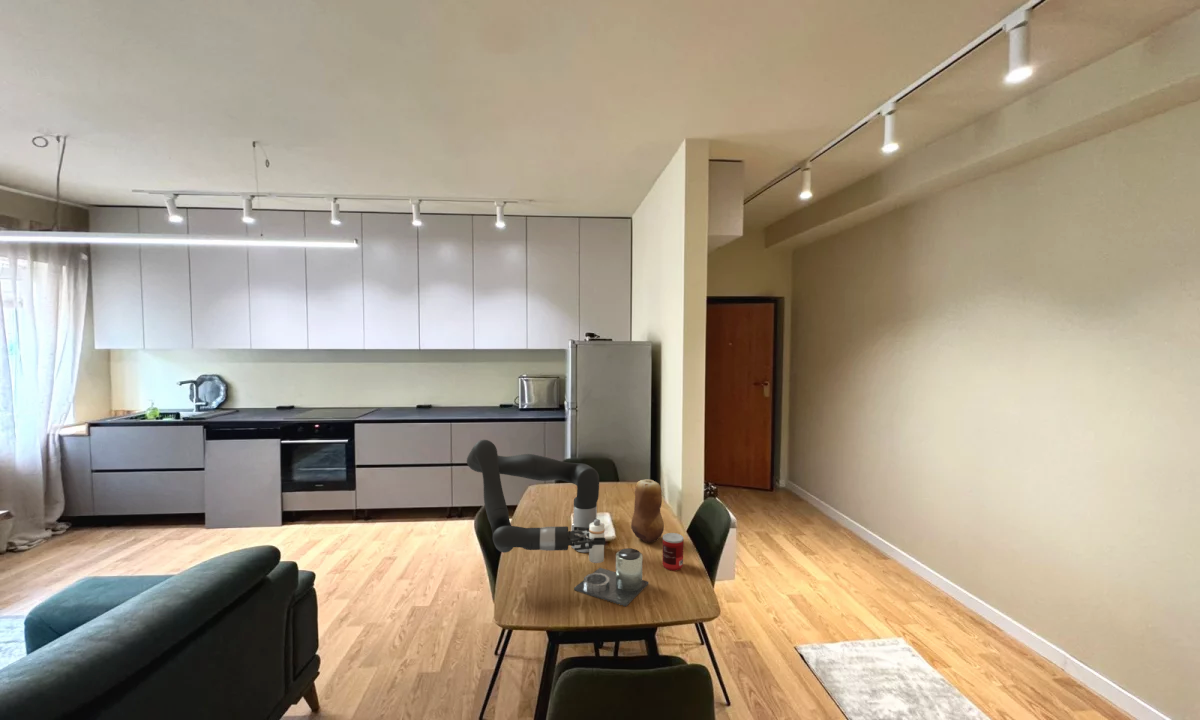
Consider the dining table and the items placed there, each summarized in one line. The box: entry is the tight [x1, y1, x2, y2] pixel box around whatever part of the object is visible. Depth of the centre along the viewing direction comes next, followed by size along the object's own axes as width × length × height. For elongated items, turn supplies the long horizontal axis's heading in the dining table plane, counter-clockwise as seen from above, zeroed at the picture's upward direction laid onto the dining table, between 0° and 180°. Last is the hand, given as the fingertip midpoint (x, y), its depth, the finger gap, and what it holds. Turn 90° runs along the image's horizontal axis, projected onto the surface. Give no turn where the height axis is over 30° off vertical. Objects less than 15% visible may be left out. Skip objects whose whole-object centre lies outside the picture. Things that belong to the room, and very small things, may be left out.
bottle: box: [588, 518, 606, 564], centre depth 165 cm, size 5×5×14 cm
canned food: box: [662, 532, 685, 572], centre depth 182 cm, size 8×8×11 cm
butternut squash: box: [630, 478, 665, 544], centre depth 205 cm, size 14×13×25 cm
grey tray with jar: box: [573, 548, 650, 608], centre depth 166 cm, size 20×17×12 cm
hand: (604, 537), depth 166 cm, fingers closed on bottle, 5 cm apart
